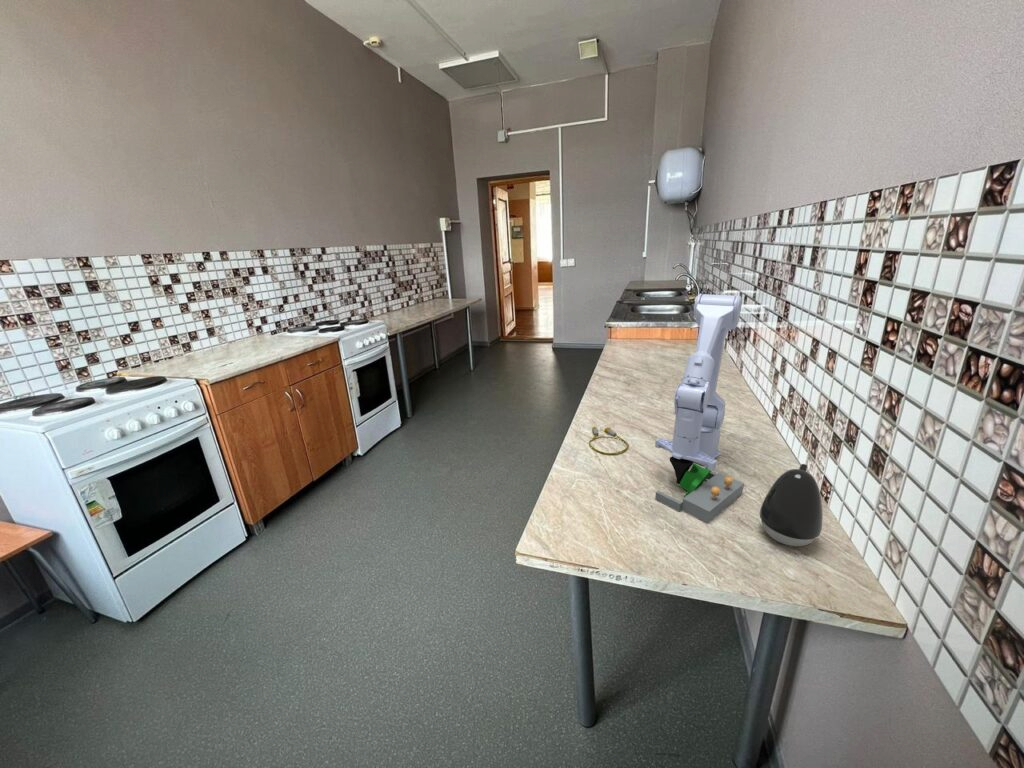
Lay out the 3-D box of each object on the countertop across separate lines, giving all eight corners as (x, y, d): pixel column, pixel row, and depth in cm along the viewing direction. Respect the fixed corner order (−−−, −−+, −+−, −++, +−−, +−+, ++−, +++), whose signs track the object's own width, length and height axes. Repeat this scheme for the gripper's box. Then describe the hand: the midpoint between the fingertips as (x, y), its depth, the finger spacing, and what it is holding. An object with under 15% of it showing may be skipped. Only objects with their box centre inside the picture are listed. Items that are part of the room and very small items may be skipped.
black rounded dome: (820, 533, 82) (837, 468, 77) (812, 563, 75) (831, 493, 70) (763, 513, 89) (775, 451, 84) (750, 538, 81) (764, 473, 76)
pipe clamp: (691, 471, 103) (699, 458, 101) (705, 480, 101) (713, 466, 99) (673, 490, 96) (681, 476, 94) (688, 500, 94) (696, 486, 92)
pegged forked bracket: (695, 471, 105) (698, 452, 103) (744, 492, 96) (748, 471, 94) (655, 499, 95) (657, 478, 93) (705, 525, 86) (708, 502, 84)
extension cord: (632, 435, 126) (632, 429, 126) (625, 459, 113) (626, 453, 112) (593, 429, 131) (593, 424, 130) (582, 453, 117) (582, 446, 117)
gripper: (649, 427, 97) (645, 476, 102) (708, 450, 87) (700, 503, 91) (666, 419, 101) (661, 466, 106) (724, 440, 91) (716, 491, 95)
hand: (680, 482), depth 99 cm, fingers closed, pressing on pipe clamp
